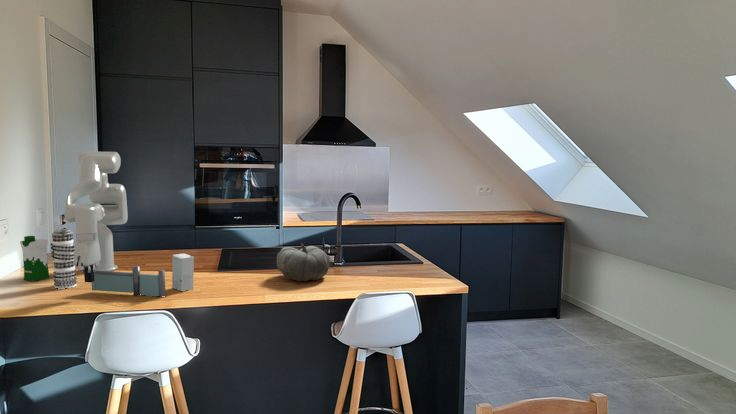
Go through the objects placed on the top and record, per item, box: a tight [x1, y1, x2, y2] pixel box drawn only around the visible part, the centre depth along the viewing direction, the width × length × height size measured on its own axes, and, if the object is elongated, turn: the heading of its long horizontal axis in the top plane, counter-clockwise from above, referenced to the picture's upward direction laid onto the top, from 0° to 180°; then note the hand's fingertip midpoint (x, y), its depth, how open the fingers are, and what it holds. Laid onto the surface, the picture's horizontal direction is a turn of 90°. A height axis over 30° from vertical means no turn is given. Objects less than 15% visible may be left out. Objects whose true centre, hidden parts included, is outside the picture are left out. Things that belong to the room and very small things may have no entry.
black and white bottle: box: [49, 228, 78, 290], centre depth 220 cm, size 9×9×25 cm
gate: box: [90, 270, 133, 294], centre depth 212 cm, size 18×2×8 cm, turn 81°
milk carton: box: [19, 235, 51, 282], centre depth 231 cm, size 9×9×20 cm
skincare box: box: [171, 252, 195, 292], centre depth 220 cm, size 8×6×15 cm
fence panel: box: [140, 269, 166, 298], centre depth 209 cm, size 11×2×11 cm, turn 81°
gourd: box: [276, 243, 331, 282], centre depth 240 cm, size 25×25×17 cm
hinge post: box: [131, 265, 141, 296], centre depth 210 cm, size 3×3×12 cm
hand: (89, 281), depth 206 cm, fingers closed
